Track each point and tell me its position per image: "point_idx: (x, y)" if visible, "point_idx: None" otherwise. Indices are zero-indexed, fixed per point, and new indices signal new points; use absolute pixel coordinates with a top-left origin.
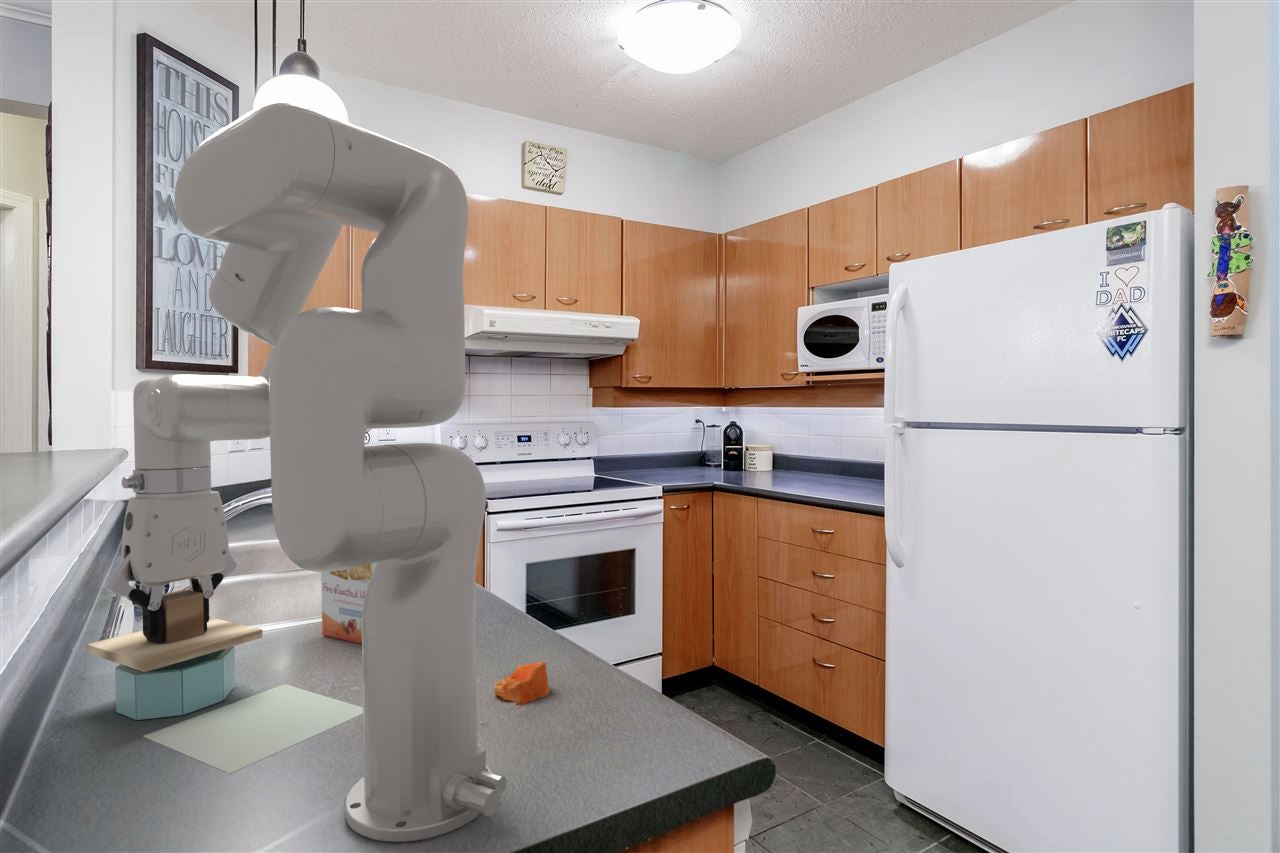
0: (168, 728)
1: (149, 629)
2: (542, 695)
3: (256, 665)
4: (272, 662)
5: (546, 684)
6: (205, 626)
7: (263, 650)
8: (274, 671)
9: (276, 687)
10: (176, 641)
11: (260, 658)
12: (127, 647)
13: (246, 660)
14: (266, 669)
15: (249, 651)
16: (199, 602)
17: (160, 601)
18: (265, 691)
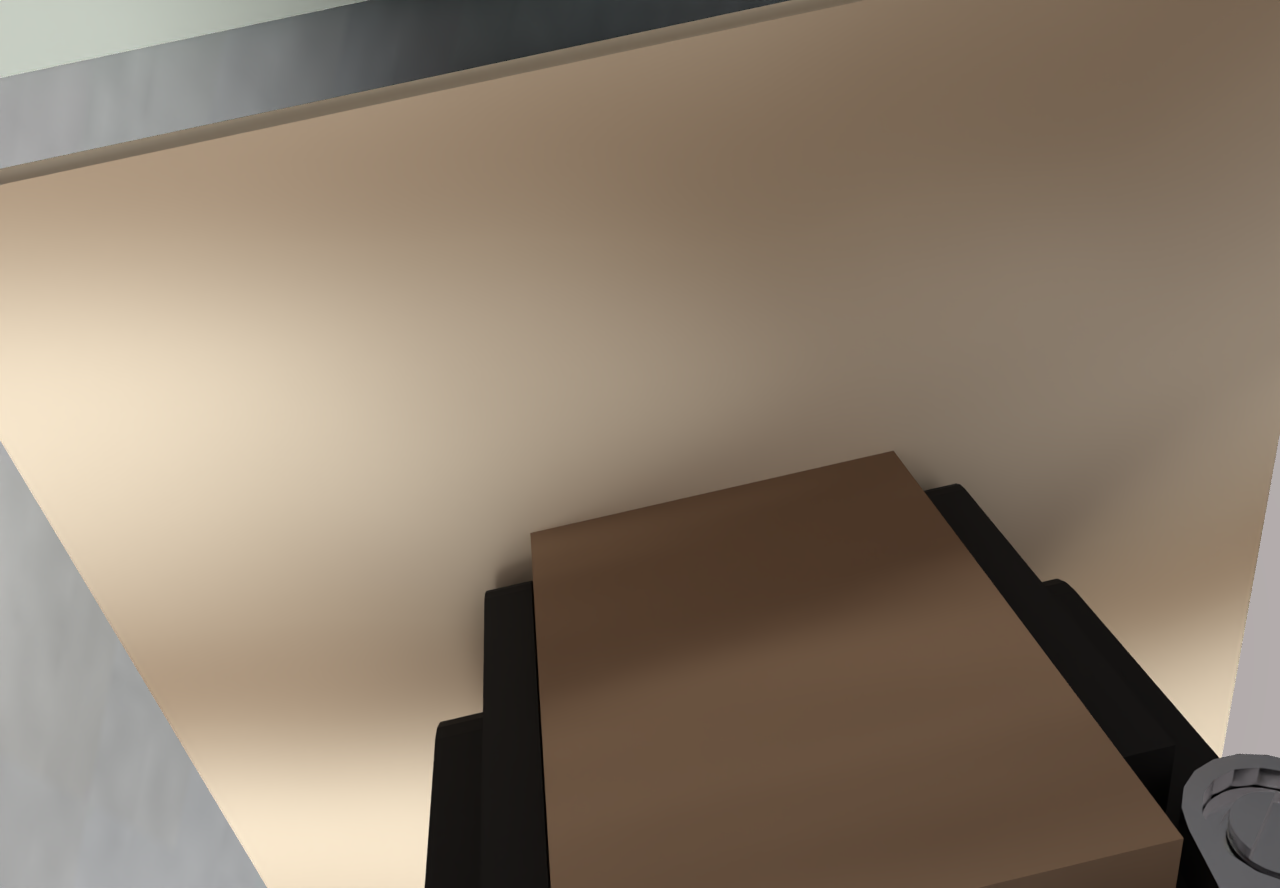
0: None
1: (1096, 623)
2: None
3: (113, 653)
4: (8, 641)
5: None
6: (503, 613)
7: (34, 856)
8: (17, 475)
9: (45, 59)
10: (812, 468)
11: (71, 748)
12: (1125, 598)
13: (155, 764)
14: (63, 546)
15: (114, 882)
16: (607, 836)
17: (1229, 878)
18: (141, 41)
